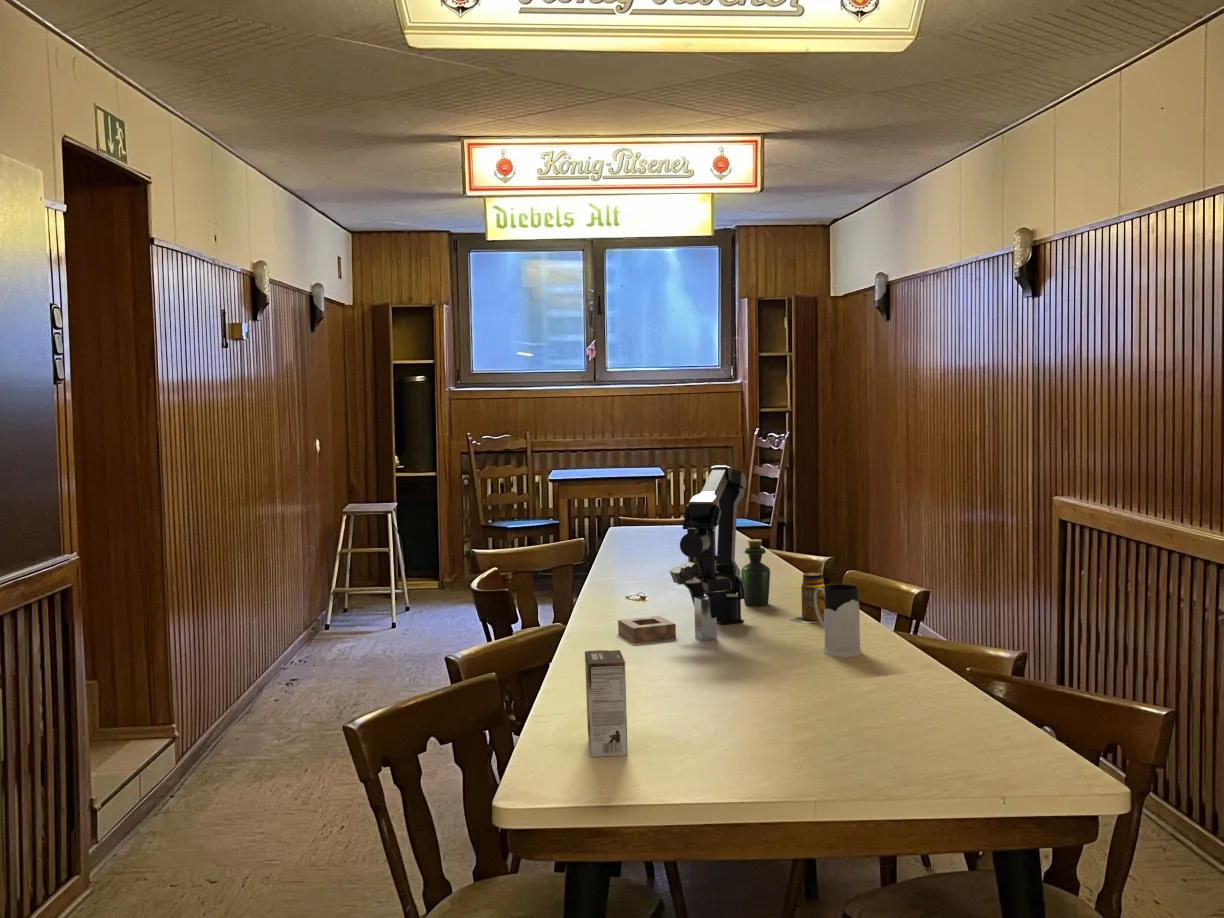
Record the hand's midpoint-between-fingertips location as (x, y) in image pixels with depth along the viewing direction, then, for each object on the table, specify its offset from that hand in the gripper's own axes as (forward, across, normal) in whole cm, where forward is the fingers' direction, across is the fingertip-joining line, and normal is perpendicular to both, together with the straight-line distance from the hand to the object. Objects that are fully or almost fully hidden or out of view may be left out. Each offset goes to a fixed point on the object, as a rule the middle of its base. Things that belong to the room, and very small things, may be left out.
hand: (705, 614), depth 277 cm
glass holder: (+6, +25, +21) cm, 33 cm away
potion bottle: (+6, -32, +30) cm, 44 cm away
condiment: (+6, -7, +33) cm, 34 cm away
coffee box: (+6, +69, -50) cm, 86 cm away
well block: (+6, -9, -12) cm, 16 cm away
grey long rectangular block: (+6, 0, 0) cm, 6 cm away
